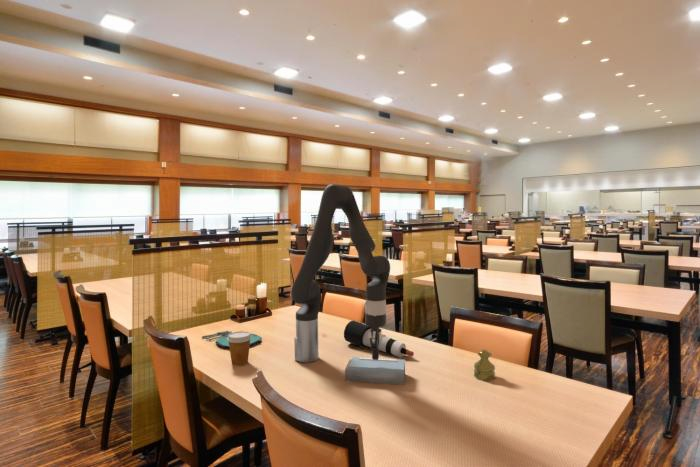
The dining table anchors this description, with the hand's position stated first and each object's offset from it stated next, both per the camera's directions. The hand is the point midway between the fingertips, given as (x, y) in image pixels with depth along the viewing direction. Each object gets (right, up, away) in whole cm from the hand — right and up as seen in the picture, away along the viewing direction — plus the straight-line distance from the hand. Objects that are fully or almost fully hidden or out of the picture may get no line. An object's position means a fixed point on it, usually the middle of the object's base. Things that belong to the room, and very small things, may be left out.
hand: (375, 358), depth 144 cm
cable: (+4, -7, +32) cm, 33 cm away
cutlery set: (-66, -7, +48) cm, 82 cm away
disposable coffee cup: (-54, -8, +19) cm, 58 cm away
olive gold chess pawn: (+41, -8, +3) cm, 41 cm away
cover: (+1, -4, +3) cm, 5 cm away
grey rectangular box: (+1, -8, +4) cm, 9 cm away
